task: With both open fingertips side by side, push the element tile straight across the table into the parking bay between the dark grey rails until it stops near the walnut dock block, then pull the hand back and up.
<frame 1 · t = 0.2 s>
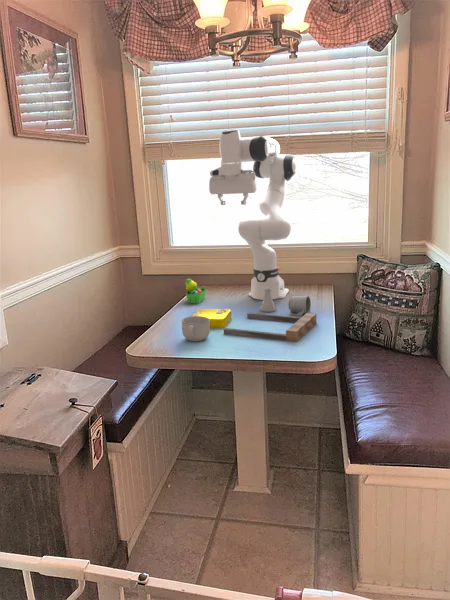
hand: (233, 204, 214), 48 cm above the table, tool pointing down, fingers open, 8 cm apart
teacup: (195, 340, 195), on the table
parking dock: (266, 327, 205), on the table
flask: (268, 310, 230), on the table
element tile: (211, 323, 216), on the table
ceramic mug: (299, 314, 222), on the table
fruit basket: (195, 301, 253), on the table
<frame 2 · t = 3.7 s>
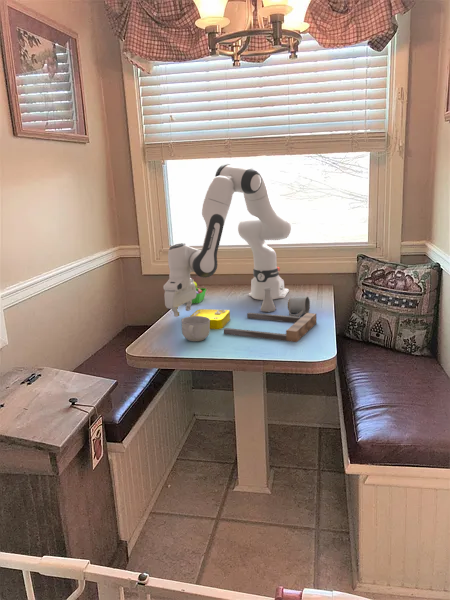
hand: (182, 313, 222), 3 cm above the table, tool pointing down, fingers open, 8 cm apart
element tile: (209, 324, 215), on the table
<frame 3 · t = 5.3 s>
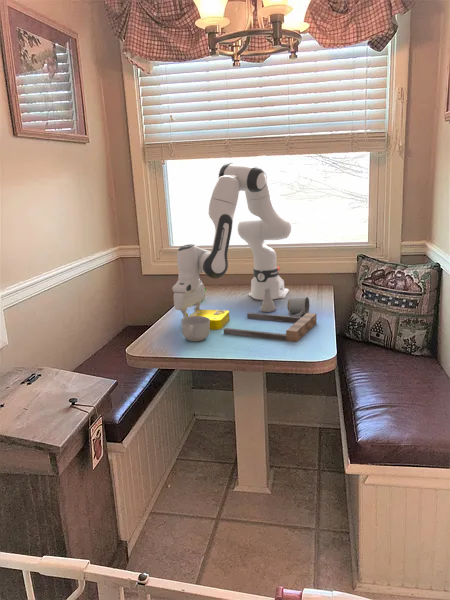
hand: (191, 314, 220), 3 cm above the table, tool pointing down, fingers open, 8 cm apart
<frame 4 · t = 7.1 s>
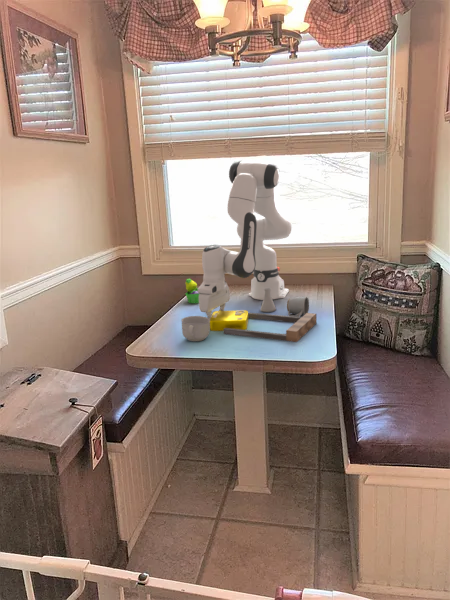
hand: (216, 317, 214), 3 cm above the table, tool pointing down, fingers open, 8 cm apart
element tile: (229, 325, 211), on the table, touching gripper
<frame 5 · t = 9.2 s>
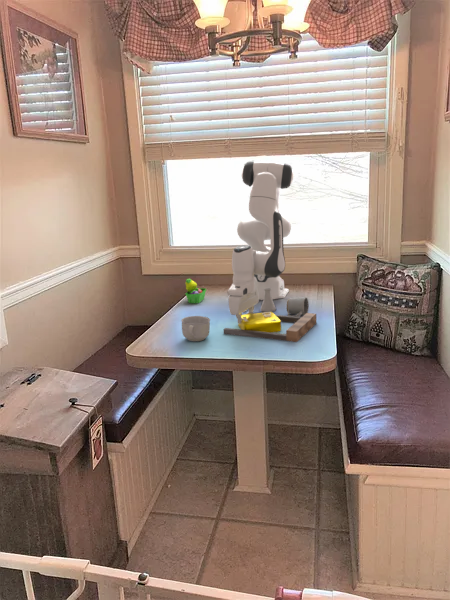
hand: (245, 319, 208), 3 cm above the table, tool pointing down, fingers open, 8 cm apart
element tile: (259, 328, 206), on the table, touching gripper
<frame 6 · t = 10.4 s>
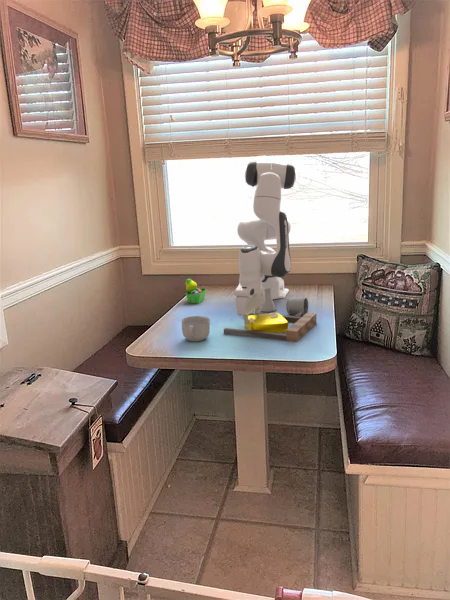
hand: (252, 320, 207), 3 cm above the table, tool pointing down, fingers open, 8 cm apart
element tile: (266, 329, 205), on the table
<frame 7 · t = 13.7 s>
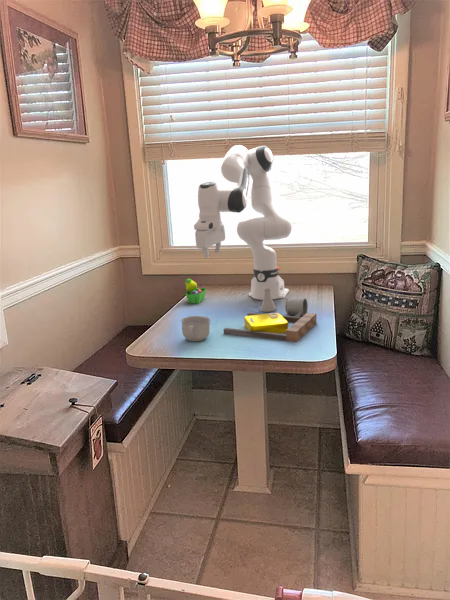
hand: (212, 255, 218), 27 cm above the table, tool pointing down, fingers open, 8 cm apart
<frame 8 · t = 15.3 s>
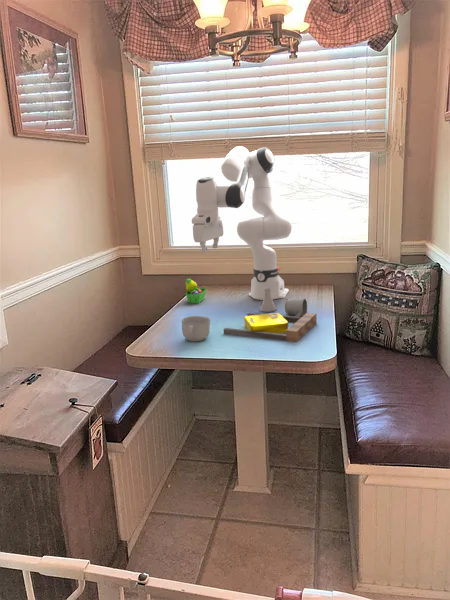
hand: (210, 249, 219), 29 cm above the table, tool pointing down, fingers open, 8 cm apart
at the end: element tile inside the target area (3.4 cm from its centre), on the table; element tile tilted 0° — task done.
